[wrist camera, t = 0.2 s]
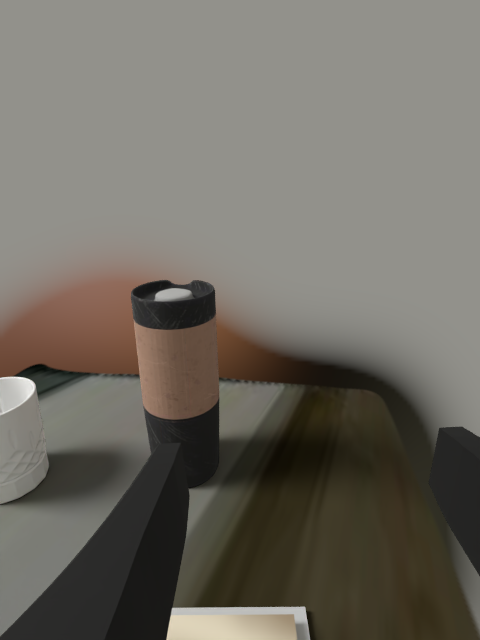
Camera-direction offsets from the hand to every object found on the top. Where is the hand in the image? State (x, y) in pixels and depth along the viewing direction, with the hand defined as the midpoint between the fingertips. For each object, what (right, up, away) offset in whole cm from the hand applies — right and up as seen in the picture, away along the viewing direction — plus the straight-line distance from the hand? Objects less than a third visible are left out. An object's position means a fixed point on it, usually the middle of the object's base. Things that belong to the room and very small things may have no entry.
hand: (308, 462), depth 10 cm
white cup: (-26, -13, +27) cm, 39 cm away
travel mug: (-8, -12, +29) cm, 32 cm away
